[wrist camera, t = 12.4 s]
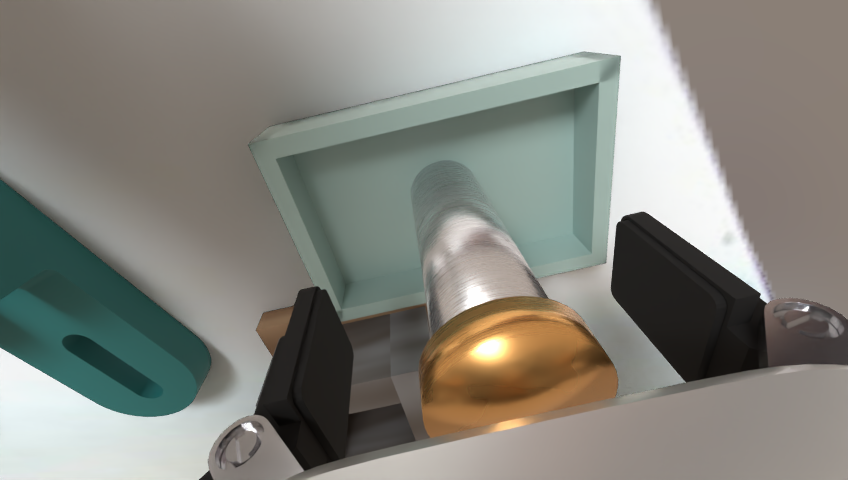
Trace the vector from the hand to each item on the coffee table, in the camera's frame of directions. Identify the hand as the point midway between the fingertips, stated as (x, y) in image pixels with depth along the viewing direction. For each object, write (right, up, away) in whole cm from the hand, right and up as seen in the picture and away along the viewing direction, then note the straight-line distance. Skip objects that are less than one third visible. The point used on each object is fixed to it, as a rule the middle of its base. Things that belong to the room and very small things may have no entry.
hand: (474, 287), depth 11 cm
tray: (-1, +4, +8) cm, 9 cm away
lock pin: (-1, +4, +7) cm, 8 cm away
